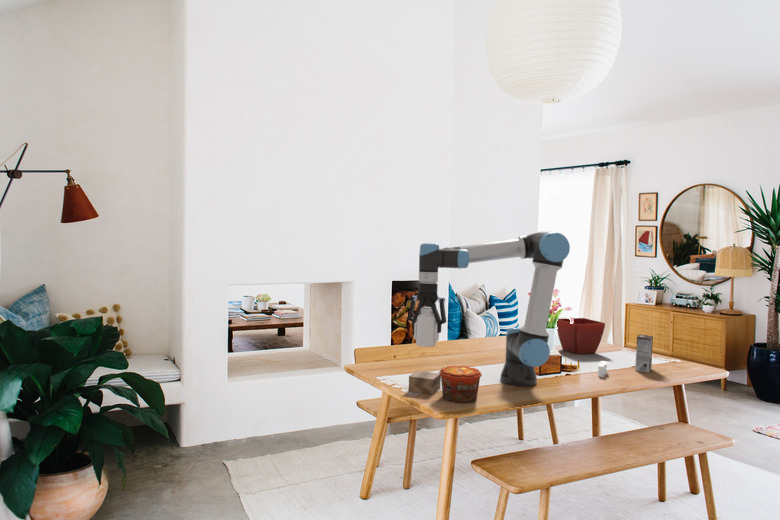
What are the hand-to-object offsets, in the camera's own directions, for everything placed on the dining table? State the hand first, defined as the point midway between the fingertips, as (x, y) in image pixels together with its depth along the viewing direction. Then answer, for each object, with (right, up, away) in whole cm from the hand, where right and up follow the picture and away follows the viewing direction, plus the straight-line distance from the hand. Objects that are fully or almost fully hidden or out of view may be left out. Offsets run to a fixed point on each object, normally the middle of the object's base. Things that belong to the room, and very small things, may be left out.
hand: (426, 339), depth 221 cm
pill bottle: (0, -2, 0) cm, 2 cm away
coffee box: (+107, -21, +45) cm, 118 cm away
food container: (+12, -21, -9) cm, 26 cm away
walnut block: (-1, -20, +1) cm, 20 cm away
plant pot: (+89, -19, +84) cm, 123 cm away
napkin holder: (+82, -21, +35) cm, 92 cm away
